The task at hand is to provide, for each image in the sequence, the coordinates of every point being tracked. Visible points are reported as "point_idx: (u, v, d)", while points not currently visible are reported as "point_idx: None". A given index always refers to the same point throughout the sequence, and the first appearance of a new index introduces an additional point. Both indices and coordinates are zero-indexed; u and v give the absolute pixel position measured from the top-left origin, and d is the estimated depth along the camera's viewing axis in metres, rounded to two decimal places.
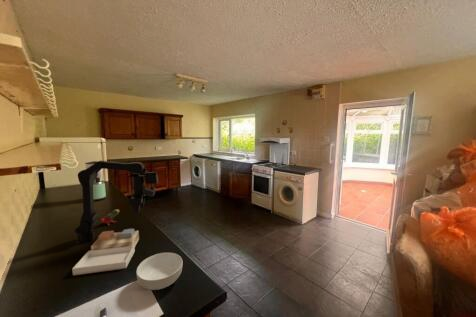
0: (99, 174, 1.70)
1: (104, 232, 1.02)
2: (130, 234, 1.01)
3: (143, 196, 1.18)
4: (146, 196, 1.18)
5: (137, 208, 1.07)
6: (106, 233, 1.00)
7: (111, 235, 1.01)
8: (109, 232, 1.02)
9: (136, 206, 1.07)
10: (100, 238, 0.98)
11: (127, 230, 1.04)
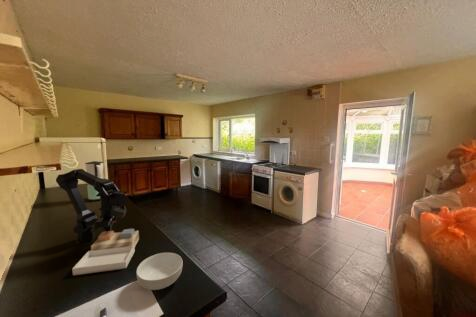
0: (99, 174, 1.70)
1: (104, 232, 1.02)
2: (130, 234, 1.01)
3: (111, 219, 1.05)
4: (114, 219, 1.05)
5: (108, 227, 1.03)
6: (106, 234, 1.00)
7: (111, 235, 1.01)
8: (109, 232, 1.02)
9: None
10: (100, 238, 0.98)
11: (127, 230, 1.04)
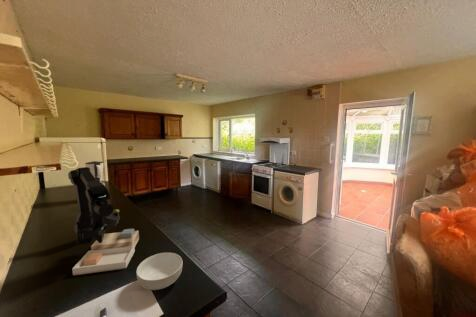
0: (99, 174, 1.70)
1: None
2: (130, 234, 1.01)
3: (102, 228, 0.95)
4: (106, 227, 0.95)
5: (99, 237, 0.93)
6: None
7: (99, 257, 0.90)
8: None
9: None
10: None
11: (127, 230, 1.04)
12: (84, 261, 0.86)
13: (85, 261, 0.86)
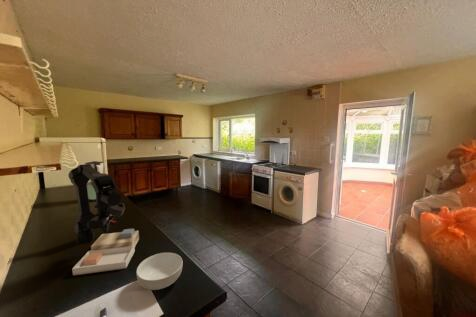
0: None
1: None
2: (130, 234, 1.01)
3: None
4: (111, 218, 0.95)
5: (104, 227, 0.93)
6: None
7: (99, 257, 0.90)
8: None
9: None
10: None
11: (127, 230, 1.04)
12: (84, 261, 0.86)
13: (85, 261, 0.86)
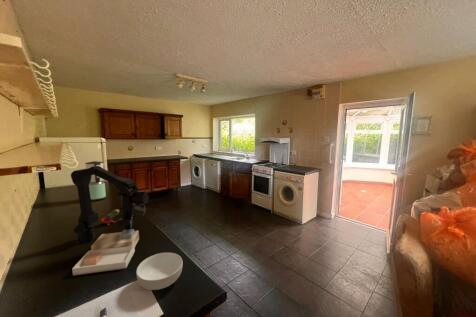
0: None
1: None
2: (130, 235, 1.01)
3: (131, 218, 1.06)
4: (134, 218, 1.07)
5: (128, 226, 1.05)
6: None
7: (99, 257, 0.90)
8: None
9: None
10: None
11: (127, 231, 1.03)
12: (84, 261, 0.86)
13: (85, 261, 0.86)
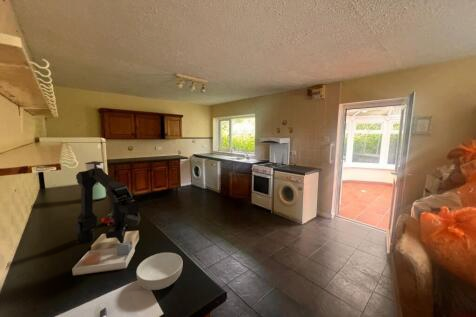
0: None
1: None
2: None
3: None
4: (127, 228, 0.95)
5: (121, 237, 0.93)
6: None
7: (99, 257, 0.90)
8: None
9: None
10: None
11: (122, 248, 0.93)
12: (84, 261, 0.86)
13: (85, 261, 0.86)
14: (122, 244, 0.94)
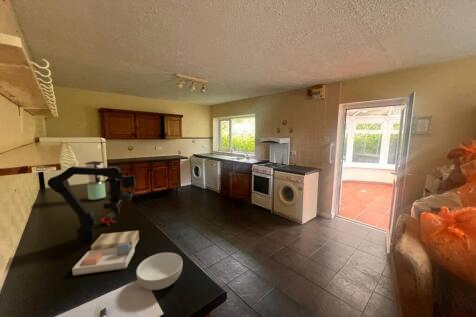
0: None
1: None
2: None
3: None
4: (122, 202, 1.14)
5: (116, 210, 1.12)
6: None
7: (99, 257, 0.90)
8: None
9: (115, 208, 1.11)
10: None
11: (122, 248, 0.93)
12: (84, 261, 0.86)
13: (85, 261, 0.86)
14: (122, 244, 0.94)
